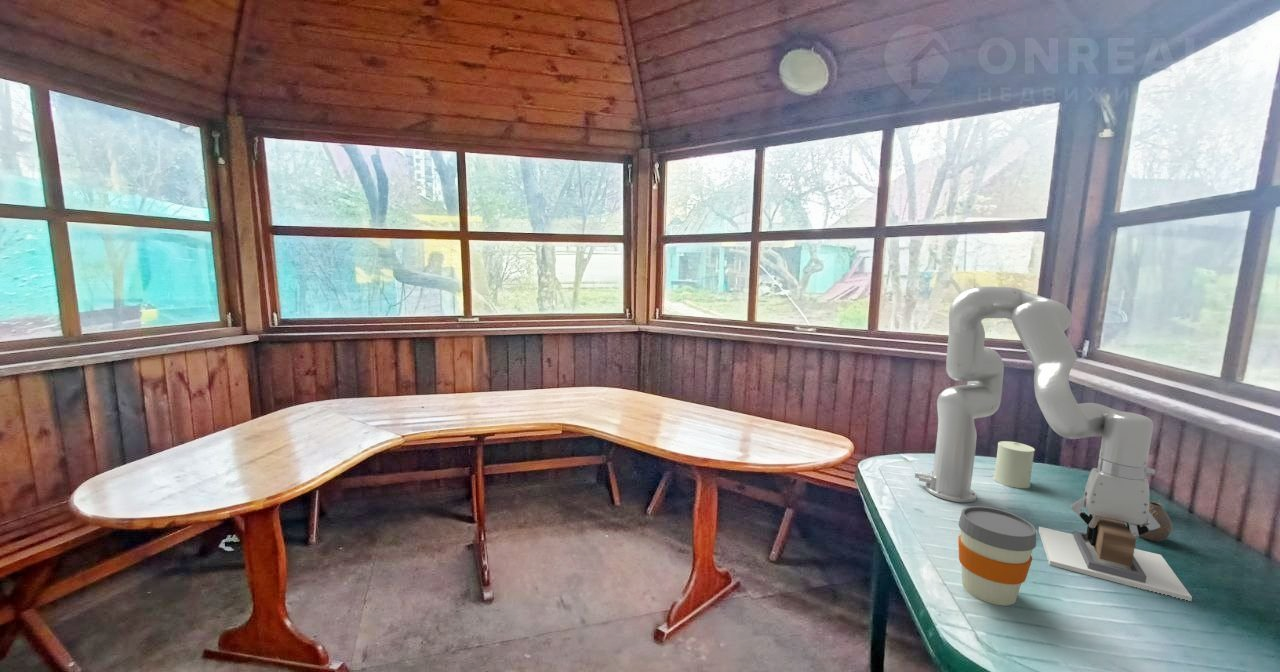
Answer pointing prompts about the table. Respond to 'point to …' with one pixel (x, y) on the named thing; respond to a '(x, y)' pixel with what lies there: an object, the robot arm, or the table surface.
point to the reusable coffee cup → (994, 553)
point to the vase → (1162, 519)
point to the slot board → (1111, 564)
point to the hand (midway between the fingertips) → (1108, 546)
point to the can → (1014, 464)
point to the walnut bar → (1114, 542)
